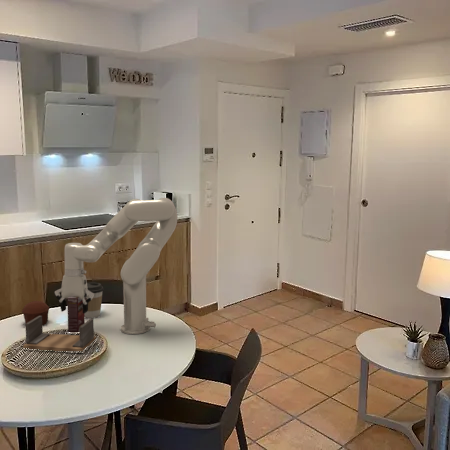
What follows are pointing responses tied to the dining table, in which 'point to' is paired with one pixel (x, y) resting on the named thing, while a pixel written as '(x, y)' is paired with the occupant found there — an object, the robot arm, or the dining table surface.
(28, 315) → the muffin
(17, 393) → the dining table surface
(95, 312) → the coffee cup
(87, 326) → the shelf
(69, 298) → the supplement box
